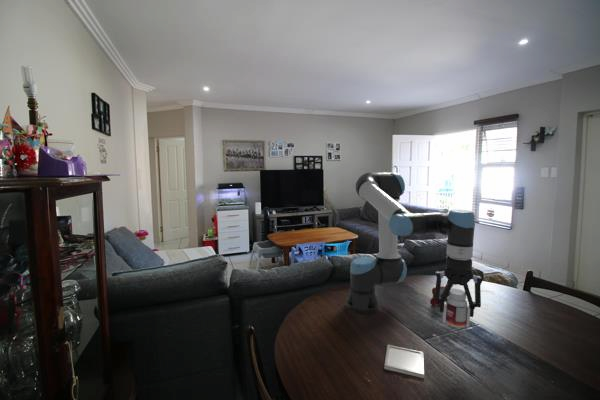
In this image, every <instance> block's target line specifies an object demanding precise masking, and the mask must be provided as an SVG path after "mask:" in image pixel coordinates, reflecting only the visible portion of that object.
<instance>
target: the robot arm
mask: <svg viewBox="0 0 600 400" xmlns="http://www.w3.org/2000/svg"><path fill="white" fill-rule="evenodd" d="M354 187H355V191H356V194H357V196H358V197H359V198H360V199H361V200H363V201H367V202H368V203H369V204H370V205H371V206H372V207H373V208H374V209H375V210H376V211H377V212H378V213H377V214H378V219H377V220H378V251H379V252H377V254H376V255H375V258H376V259H375V258H373V257H372V256H360V257H357V258H354V259H353V260H352V261H351V262H350V269H349V275H350V282H349V283H350V291H349V294H348V296H347V299H346V308H347V307H348V308H349V309H350V310H349V309H348V308H347V309H348V310H349V311H351V312H353V311H354V312H353V313H355V312H356V313H355V314H359V313H360V314H359V315H372V314H374V313H377V312H378V311H379V308H380V307H379V306H380V305H379V304H380V303H379V300H378V296H377V294H376V286H379V285H390V284H397V283H401V282H403V281H405V279H406V276H407V271H408V268H407V265H406V261H405V260H404V259H403V258H402V255H401V254H400V253H399V251H398V246H399V245H398V236H400V237H401V236H402V237H403V236H404V237H407V236H417V235H431V234H440V235H443V236H446V237H447V240H446V258H445V260H446V261H445V268H444V270H442V271H438V270H436V271H435V276H436V281H435V287H434V288H435V295H434V298H435V301H438V302H440V309H439V311H440V313H442V322H443V324H447V322H446V309H447V304H446V301H445V300H446V298H447V296H448V294H449V292H450V290H451V289H452V288H453V286H454V285H459V286H463V291H464V292H465V293H466V299H467V303H468V304H467V315H466V325H465V326H466V327H467V328H470V320H471V319H470V318H473V317H474V313H475V309H476V308H481V307H482V305H481V304H482V297H481V295H482V293H481V290H482V289H481V285H482V283H483V278H482V277H481V275H475V274H473V272H472V271H473V259H472V258H473V256H474V255H473V254H474V253H473V252H474V240H475V237H474V235H475V227H476V222H475V221H476V219H475V213H474V212H473V211H472V210H471V211H470V210H466V209H465V210H463V209H450V210H449V211H448V213H446V212H442V211H438V210H427V211H426V212H416V213H413V212H410V211H409V210H408V209H407V208H405V207H404V206H403V205H402V204H400V203H399V201H400V200H401V196H402V195H404V192H405V188H406V184H405V180H404V178H403V177H402V175H401V174H400V173H399V172H393V171H383V172H382V171H381V172H380V171H379V172H373V171H371V172H366V173H363V174H362V175H360V176H359V177H358V179H357V180H356V182H355V186H354ZM444 276H445V277H446V279H447V281H446V284H445V286H444V287H445V288H444V291H443V293H442V295H441V297H439V294H440V287H442V279H443V278H444ZM472 279H473V283H474V300H473V298H472V293H471V292H470V289H469V285H468V283H469V282H471V280H472Z"/></svg>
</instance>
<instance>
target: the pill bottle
mask: <svg viewBox="0 0 600 400" xmlns="http://www.w3.org/2000/svg"><path fill="white" fill-rule="evenodd" d="M448 295H449V296H448V297H447V300H446V304H447V309H446V324H448V325H449V326H451V327H454V328H461V329H462V328H465V326H466V315H467V305H468V300H466V299H467V296H466V293H465V290H464V289H463V290H462V289H459V288H451V290H450V292H449V294H448Z"/></svg>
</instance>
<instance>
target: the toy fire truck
mask: <svg viewBox="0 0 600 400" xmlns="http://www.w3.org/2000/svg"><path fill="white" fill-rule="evenodd" d="M444 288H445V286H444V285H443V286H442V285H441V287H440V294H439V297H441V295H442V293H443V291H444ZM431 293H432V298H430V300H429V304H430V305H431V306H432V307H438V309H439V310H440V302H438V301H435V298H434V295H435V287H433V288H432V290H431ZM448 296H449V295H448ZM448 296H447V297H448ZM446 300H447V298H446ZM446 300H445V301H446Z"/></svg>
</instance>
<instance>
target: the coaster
mask: <svg viewBox="0 0 600 400" xmlns="http://www.w3.org/2000/svg"><path fill="white" fill-rule="evenodd" d="M386 346H387V347H386V353H385V360H384V367H383V368H384V370H387V371H391V372H397V373H400V374H405V375H409V376H413V377H418V378H421V379H425V365H424V364H425V363H424V360H425V359H424V351H420V350H416V349H411V348H406V347H403V346H402V347H401V346H396V345H392V344H387V345H386Z"/></svg>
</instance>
